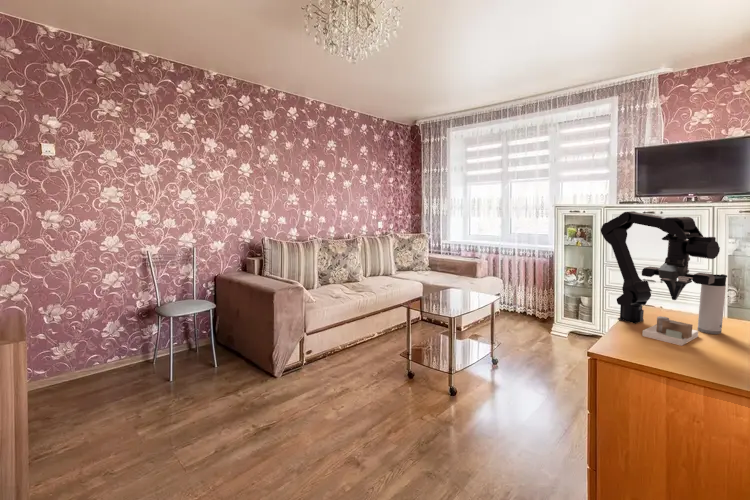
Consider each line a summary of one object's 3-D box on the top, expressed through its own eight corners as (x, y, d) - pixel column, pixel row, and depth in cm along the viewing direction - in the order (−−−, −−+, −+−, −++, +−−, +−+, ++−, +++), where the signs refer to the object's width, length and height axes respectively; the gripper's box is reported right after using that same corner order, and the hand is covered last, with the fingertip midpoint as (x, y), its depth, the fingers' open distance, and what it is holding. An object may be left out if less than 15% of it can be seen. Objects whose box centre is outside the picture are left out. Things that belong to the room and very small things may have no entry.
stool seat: (642, 335, 130) (643, 324, 129) (659, 327, 137) (660, 317, 137) (681, 345, 121) (682, 333, 120) (698, 336, 128) (699, 325, 128)
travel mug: (727, 334, 129) (732, 276, 126) (704, 334, 130) (709, 276, 127) (714, 328, 135) (719, 273, 132) (693, 327, 136) (697, 272, 134)
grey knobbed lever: (654, 330, 128) (655, 317, 127) (659, 328, 130) (659, 315, 129) (687, 338, 120) (688, 324, 120) (691, 336, 122) (692, 322, 121)
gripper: (635, 254, 131) (632, 298, 134) (704, 260, 116) (699, 310, 118) (650, 250, 137) (647, 293, 139) (717, 257, 122) (712, 304, 124)
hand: (674, 299), depth 130 cm, fingers closed
